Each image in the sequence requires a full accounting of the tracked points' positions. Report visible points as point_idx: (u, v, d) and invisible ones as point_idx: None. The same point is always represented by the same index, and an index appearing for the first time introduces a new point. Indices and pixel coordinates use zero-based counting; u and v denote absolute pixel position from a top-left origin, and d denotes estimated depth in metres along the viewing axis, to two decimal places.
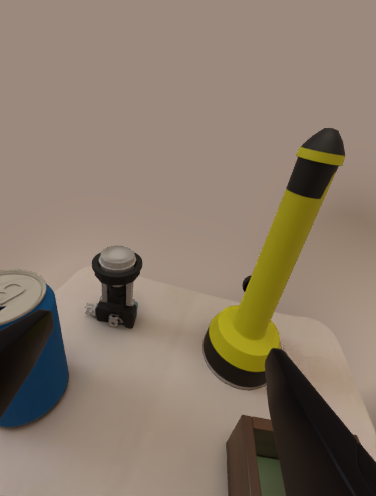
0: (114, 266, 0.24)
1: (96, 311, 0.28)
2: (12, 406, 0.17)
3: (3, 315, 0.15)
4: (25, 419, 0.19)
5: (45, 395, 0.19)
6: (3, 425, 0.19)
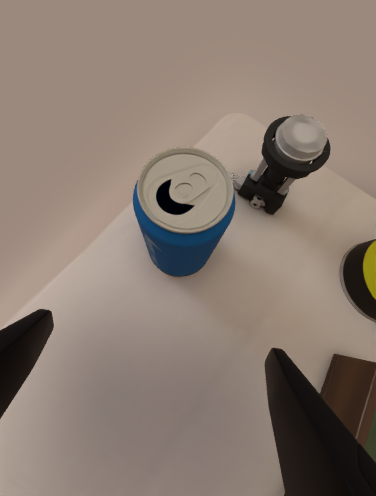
0: (296, 153, 0.18)
1: (242, 187, 0.25)
2: (176, 269, 0.20)
3: (193, 218, 0.13)
4: (180, 274, 0.23)
5: (198, 266, 0.21)
6: (164, 271, 0.23)
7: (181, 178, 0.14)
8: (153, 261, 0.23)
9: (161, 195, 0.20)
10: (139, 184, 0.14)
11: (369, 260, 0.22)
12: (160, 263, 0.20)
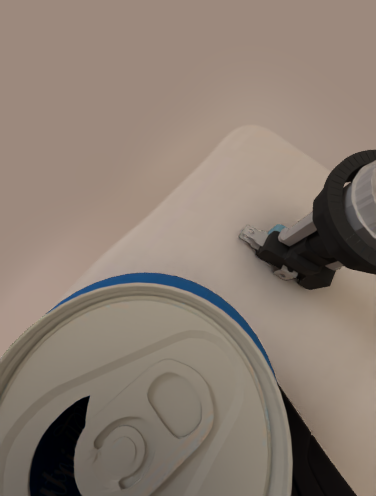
0: None
1: (264, 252, 0.16)
2: None
3: None
4: None
5: None
6: None
7: (120, 397, 0.04)
8: None
9: None
10: None
11: None
12: None
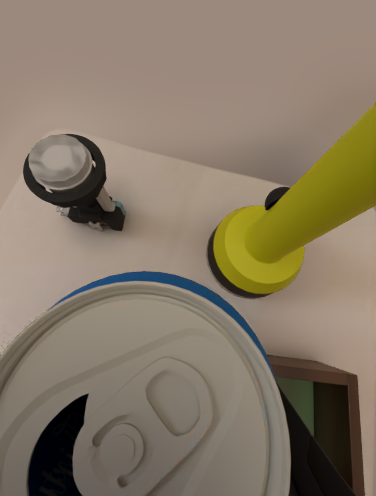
0: (57, 184, 0.15)
1: (70, 218, 0.22)
2: None
3: None
4: None
5: None
6: None
7: (118, 395, 0.04)
8: None
9: None
10: None
11: (216, 247, 0.21)
12: None
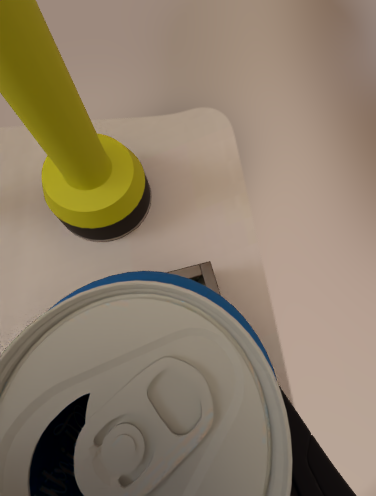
0: None
1: None
2: None
3: None
4: None
5: None
6: None
7: (120, 394, 0.04)
8: None
9: None
10: None
11: (44, 195, 0.19)
12: None
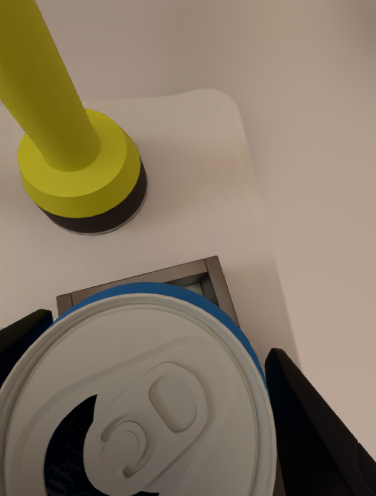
0: None
1: None
2: None
3: None
4: None
5: None
6: None
7: (124, 396, 0.05)
8: None
9: None
10: None
11: (22, 179, 0.16)
12: None
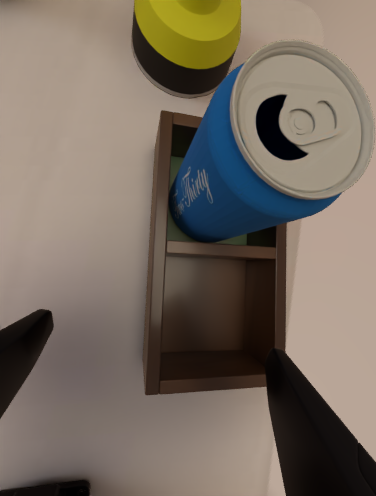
0: None
1: None
2: (203, 233, 0.15)
3: (302, 174, 0.08)
4: (200, 239, 0.18)
5: (228, 238, 0.17)
6: (180, 228, 0.18)
7: (302, 100, 0.08)
8: (172, 211, 0.17)
9: None
10: (239, 79, 0.08)
11: (137, 3, 0.17)
12: (186, 218, 0.15)
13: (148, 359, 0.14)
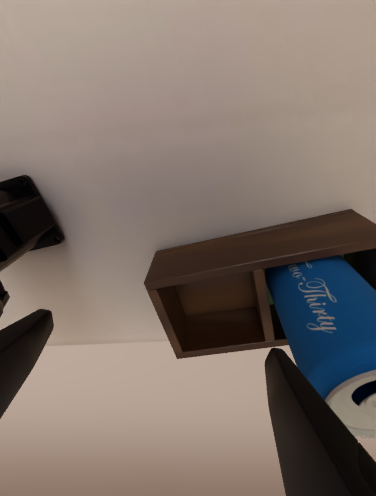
0: None
1: None
2: (275, 290, 0.18)
3: (341, 405, 0.12)
4: (267, 277, 0.21)
5: None
6: None
7: None
8: None
9: None
10: None
11: None
12: (286, 277, 0.17)
13: (168, 279, 0.18)
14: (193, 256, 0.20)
